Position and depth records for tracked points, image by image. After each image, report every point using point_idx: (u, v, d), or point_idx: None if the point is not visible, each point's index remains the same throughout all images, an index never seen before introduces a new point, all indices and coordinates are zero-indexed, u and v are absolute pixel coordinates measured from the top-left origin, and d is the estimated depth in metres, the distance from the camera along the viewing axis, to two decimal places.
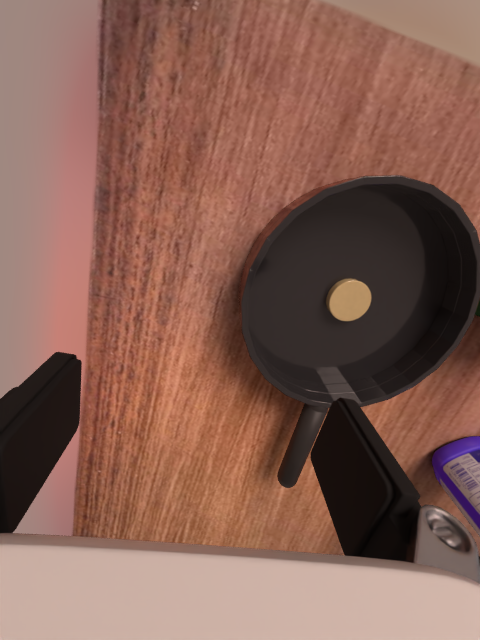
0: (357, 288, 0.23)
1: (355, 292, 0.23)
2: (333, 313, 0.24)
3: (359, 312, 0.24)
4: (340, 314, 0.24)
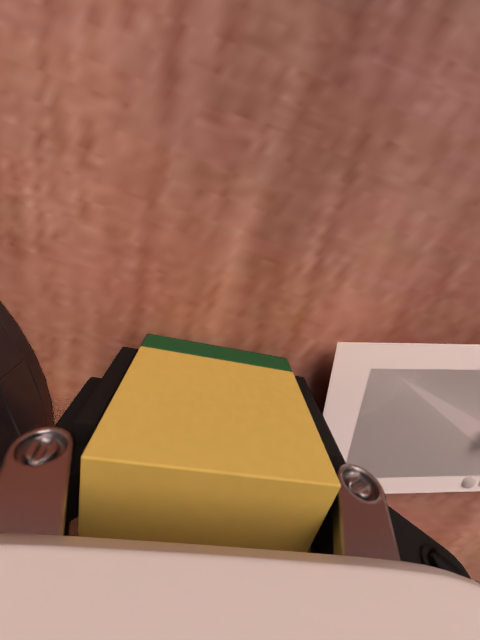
0: None
1: None
2: None
3: None
4: None
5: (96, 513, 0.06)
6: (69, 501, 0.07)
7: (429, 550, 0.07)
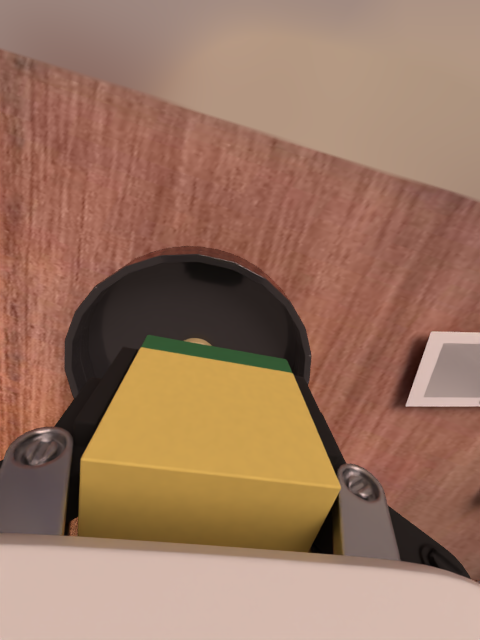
0: None
1: None
2: None
3: None
4: None
5: (97, 515, 0.06)
6: (69, 501, 0.07)
7: (429, 550, 0.07)
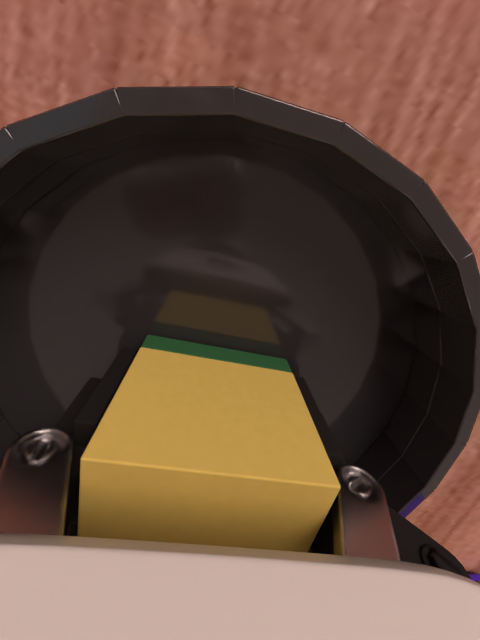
0: None
1: None
2: None
3: None
4: None
5: (96, 514, 0.06)
6: (69, 501, 0.07)
7: (429, 550, 0.07)
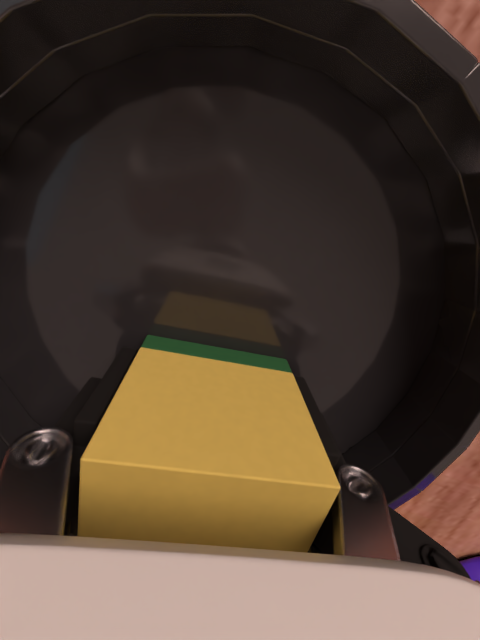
0: None
1: None
2: None
3: None
4: None
5: (96, 515, 0.06)
6: (69, 501, 0.07)
7: (429, 550, 0.07)
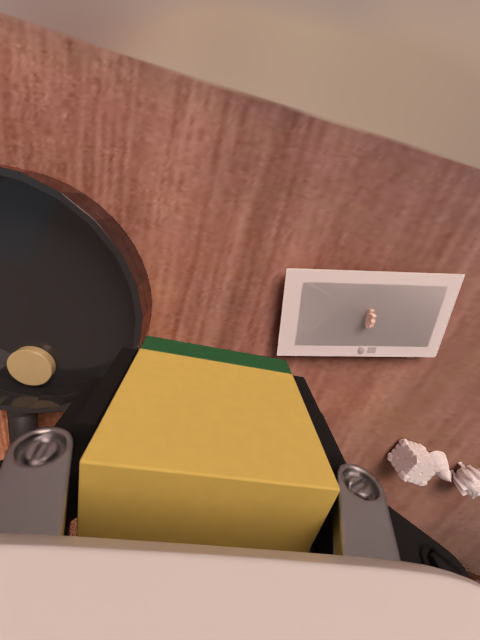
0: (29, 356, 0.24)
1: (29, 360, 0.24)
2: (16, 379, 0.24)
3: (44, 377, 0.24)
4: (24, 379, 0.24)
5: (95, 517, 0.06)
6: (69, 501, 0.07)
7: (429, 550, 0.07)
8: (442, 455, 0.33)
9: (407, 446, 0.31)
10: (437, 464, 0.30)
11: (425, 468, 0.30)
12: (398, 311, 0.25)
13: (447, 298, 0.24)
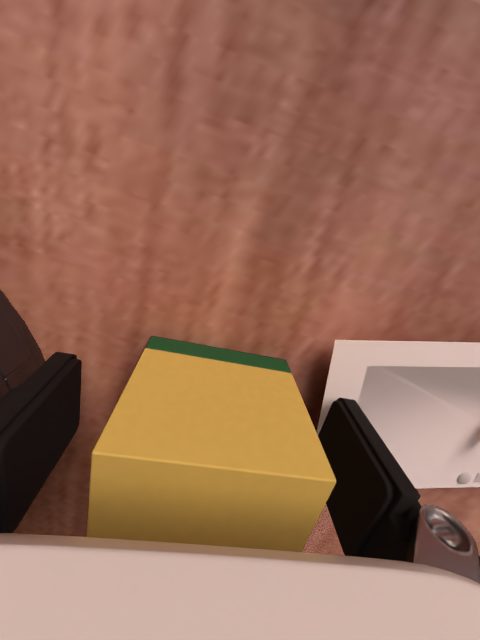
0: None
1: None
2: None
3: None
4: None
5: (105, 507, 0.06)
6: None
7: None
8: None
9: None
10: None
11: None
12: None
13: None
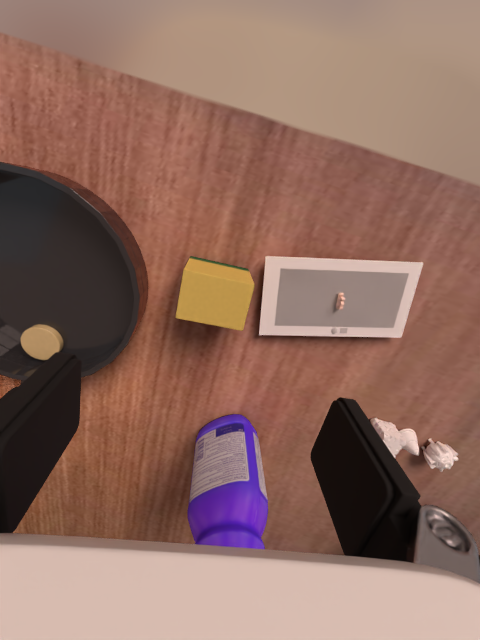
0: (41, 333, 0.27)
1: (40, 336, 0.27)
2: (29, 354, 0.28)
3: (53, 352, 0.28)
4: (36, 354, 0.28)
5: (185, 290, 0.22)
6: None
7: None
8: (411, 432, 0.36)
9: (377, 424, 0.34)
10: (403, 439, 0.33)
11: (392, 442, 0.33)
12: (366, 295, 0.28)
13: (408, 284, 0.28)
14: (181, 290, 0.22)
